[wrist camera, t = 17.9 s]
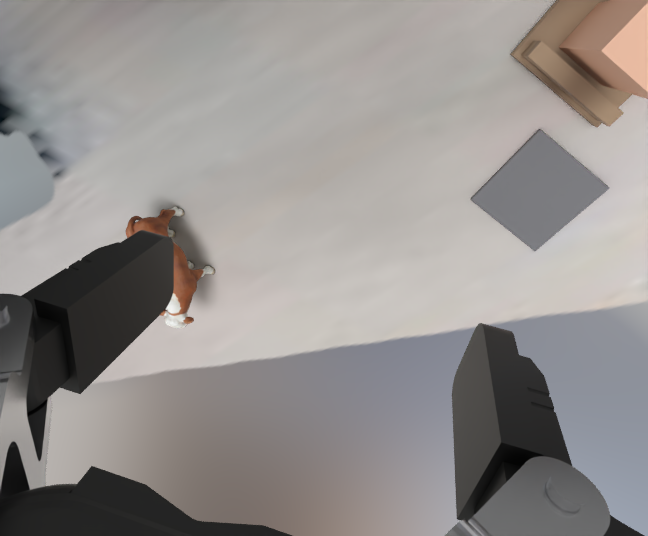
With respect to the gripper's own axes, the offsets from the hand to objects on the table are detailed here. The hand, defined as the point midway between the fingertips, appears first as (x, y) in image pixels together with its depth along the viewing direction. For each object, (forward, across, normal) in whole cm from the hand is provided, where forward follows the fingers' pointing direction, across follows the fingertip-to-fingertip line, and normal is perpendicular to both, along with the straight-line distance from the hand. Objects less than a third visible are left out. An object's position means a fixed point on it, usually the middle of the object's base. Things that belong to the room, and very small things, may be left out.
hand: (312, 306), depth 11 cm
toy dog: (+32, +20, +20) cm, 43 cm away
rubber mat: (+32, -14, +4) cm, 35 cm away
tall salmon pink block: (+31, -13, -8) cm, 34 cm away
